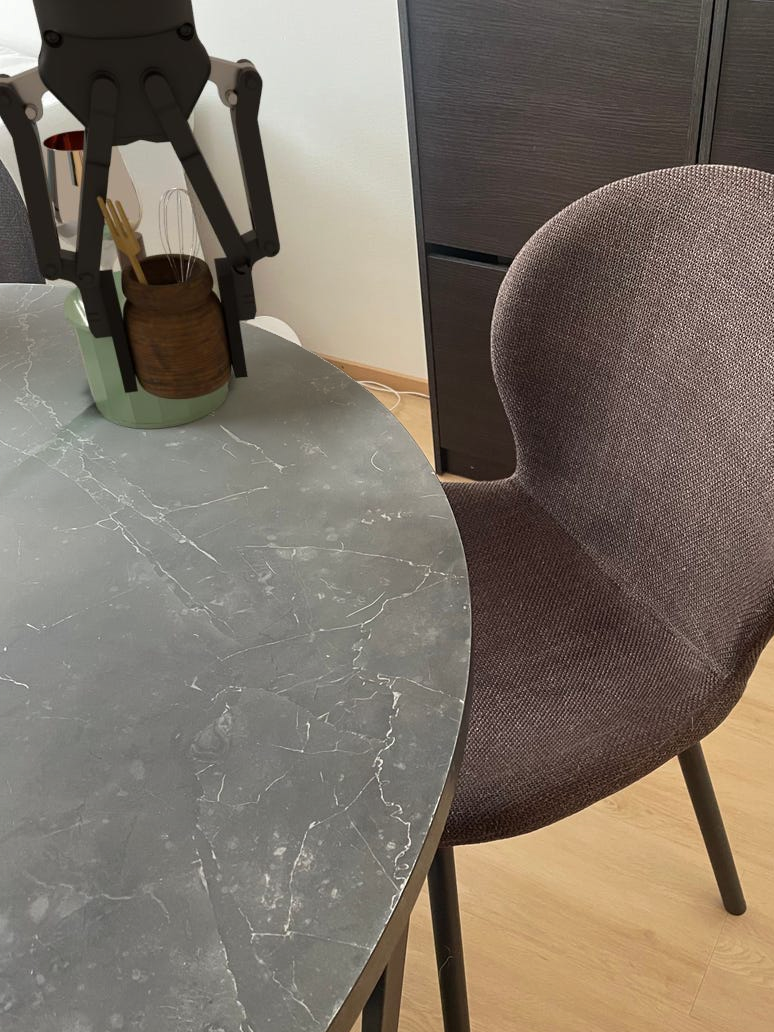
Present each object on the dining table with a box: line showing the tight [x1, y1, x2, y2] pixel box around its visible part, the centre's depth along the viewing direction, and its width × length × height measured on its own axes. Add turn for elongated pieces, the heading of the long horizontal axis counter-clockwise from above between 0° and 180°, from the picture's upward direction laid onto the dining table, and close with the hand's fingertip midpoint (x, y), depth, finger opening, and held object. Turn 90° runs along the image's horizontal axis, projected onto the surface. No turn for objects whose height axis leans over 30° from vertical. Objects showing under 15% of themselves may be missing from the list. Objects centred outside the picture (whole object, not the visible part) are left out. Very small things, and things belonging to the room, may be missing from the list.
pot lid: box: [62, 231, 220, 332], centre depth 84 cm, size 12×12×6 cm
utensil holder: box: [97, 187, 232, 399], centre depth 61 cm, size 6×6×12 cm
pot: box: [72, 325, 229, 430], centre depth 89 cm, size 11×11×8 cm
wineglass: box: [41, 129, 144, 272], centre depth 93 cm, size 8×8×18 cm
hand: (184, 374), depth 65 cm, fingers closed on utensil holder, 6 cm apart
